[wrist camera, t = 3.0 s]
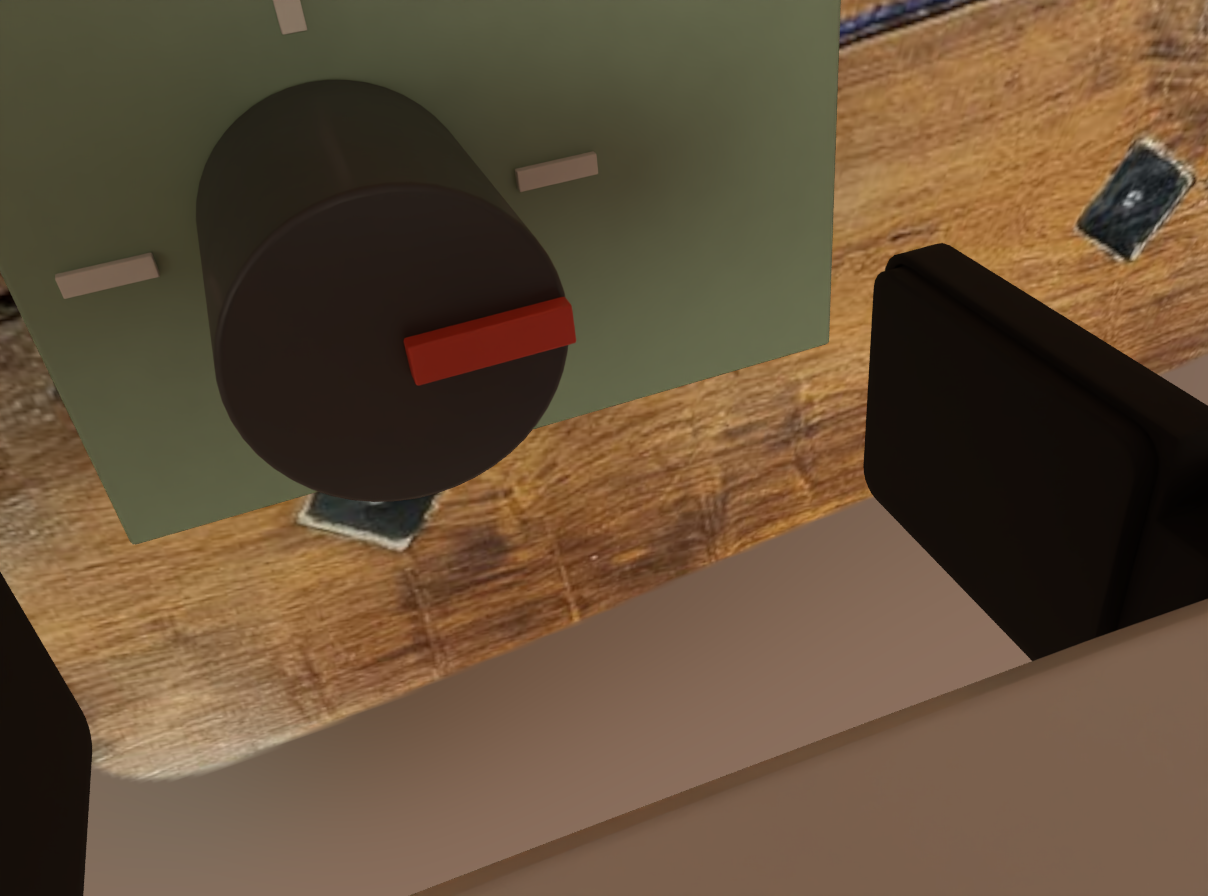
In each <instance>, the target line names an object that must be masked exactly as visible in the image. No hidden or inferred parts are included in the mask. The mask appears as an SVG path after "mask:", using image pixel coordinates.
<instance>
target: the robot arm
mask: <svg viewBox="0 0 1208 896" xmlns="http://www.w3.org/2000/svg"><path fill="white" fill-rule="evenodd" d="M864 475H865V480H866V482H867V485H868V488H869V489H870V491H871V493H872V495H873V496H874V497H875V498H876V500H877V501H878V502H879V503H880V504H881V505H882V506H883V507H884V508H885V509H886V510H887V511H888V512H889V513H890V514H891V515H892V516H893V517H894V518H895V519H896V520H897V521H898V522H899V523H900V524H901V525H902V526H903V528H904V529H905V530H906V531H907V532H908V533H909V534H910V535H911V536H912V537H913V538H914V539H915V540H916V541H917V542H918V543H919V544H920V545H921V546H922V547H923V548H924V549H925V550H926V551H927V552H928V553H929V554H930V556H931V557H933V559H934V560H935V561H936V562H937V563H938V564H939V565H940V566H941V567H942V568H943V569H944V570H945V571H946V572H947V573H948V574H949V575H950V576H951V577H952V578H953V579H954V580H955V581H956V582H957V583H958V585H960V587H961V588H962V589H963V590H964V591H965V592H966V593H967V594H968V595H969V596H970V597H971V598H972V599H973V600H974V601H975V602H976V603H977V604H978V605H979V606H980V607H981V608H982V609H983V610H984V611H985V612H986V613H987V614H988V616H990V618H991V619H992V620H993V621H994V622H995V623H996V624H997V625H998V626H999V627H1000V628H1001V629H1002V630H1003V631H1004V632H1005V633H1006V634H1007V635H1008V636H1009V637H1010V638H1011V639H1012V640H1013V641H1014V642H1015V643H1016V645H1017V646H1019V648H1020V649H1021V650H1022V651H1023V652H1024V653H1025V654H1026V655H1027V656H1028V657H1029V658H1030V659H1031V660H1032V662H1029V663H1027V664H1024V665H1021V666H1018V667H1016V668H1013V669H1010V670H1008V671H1005V672H1002V673H999V674H997V675H994V676H992V677H989V678H986V679H983V680H981V681H978V682H975V683H973V684H970V685H967V686H964V687H962V688H959V689H956V690H954V691H951V692H948V693H945V694H943V695H940V696H937V697H935V698H932V699H929V700H927V701H924V702H921V703H919V704H916V705H913V706H910V707H908V708H905V709H902V710H899V711H897V712H894V713H891V714H889V715H886V716H883V717H881V718H878V719H875V720H873V721H870V722H867V723H864V724H862V725H859V726H857V727H854V728H851V729H848V730H846V731H843V732H840V733H838V734H835V735H832V736H830V737H827V738H824V739H822V740H819V741H816V742H814V743H811V744H808V745H806V746H803V747H801V748H798V749H795V750H793V751H790V752H787V753H784V754H782V755H779V756H776V757H774V758H771V759H769V760H766V761H763V762H760V763H758V764H755V765H752V766H750V767H747V768H744V769H742V770H739V771H737V772H734V773H731V774H728V775H726V776H723V777H720V778H718V779H715V780H712V781H710V782H707V783H705V784H702V785H699V786H697V787H694V788H691V789H689V790H686V791H683V792H681V793H678V794H676V795H673V796H670V797H667V798H665V799H662V800H659V801H657V802H654V803H652V804H649V805H646V806H643V807H641V808H638V809H636V810H633V811H630V812H628V813H625V814H622V815H620V816H617V817H615V818H612V819H609V820H606V821H604V822H601V823H598V824H596V825H593V826H591V827H588V828H585V829H583V830H580V831H577V832H575V833H572V834H569V835H567V836H564V837H562V838H559V839H556V840H553V841H551V842H548V843H546V844H543V845H540V846H538V847H535V848H532V849H530V850H527V851H525V852H522V853H520V854H517V855H514V856H512V857H509V858H507V859H504V860H501V861H498V862H496V863H493V864H491V865H488V866H485V867H483V868H480V869H478V870H475V871H472V872H470V873H467V874H464V875H462V876H459V877H457V878H454V879H451V880H449V881H446V882H444V883H441V884H439V885H436V886H433V887H430V888H428V889H425V890H423V891H420V892H418V893H415V894H412V895H410V896H1208V406H1207V405H1206V404H1204V403H1202V402H1200V401H1199V400H1197V399H1196V398H1194V397H1193V396H1191V395H1190V394H1188V393H1186V392H1185V391H1183V390H1181V389H1180V388H1178V387H1177V386H1175V385H1173V384H1172V383H1170V382H1169V381H1167V380H1165V379H1164V378H1162V377H1161V376H1159V375H1157V374H1156V373H1154V372H1153V371H1151V370H1149V369H1148V368H1146V367H1145V366H1143V365H1141V364H1140V363H1138V362H1136V361H1135V360H1133V359H1132V358H1130V357H1128V356H1127V355H1125V354H1124V353H1122V352H1120V351H1119V350H1117V349H1116V348H1114V347H1112V346H1111V345H1109V344H1107V343H1106V342H1104V341H1103V340H1101V339H1099V338H1098V337H1096V336H1095V335H1093V334H1091V333H1090V332H1088V331H1087V330H1085V329H1083V328H1082V327H1080V326H1078V325H1077V324H1075V323H1074V322H1072V321H1070V320H1069V319H1067V318H1066V317H1064V316H1062V315H1061V314H1059V313H1058V312H1056V311H1054V310H1053V309H1051V308H1049V307H1048V306H1046V305H1045V304H1043V303H1041V302H1040V301H1038V300H1037V299H1035V298H1033V297H1032V296H1030V295H1029V294H1027V293H1025V292H1024V291H1022V290H1020V289H1019V288H1017V287H1016V286H1014V285H1012V284H1011V283H1009V282H1008V281H1006V280H1004V279H1003V278H1001V277H1000V276H998V275H996V274H995V273H993V272H991V271H990V270H988V269H987V268H985V267H983V266H982V265H980V264H979V263H977V262H975V261H974V260H972V259H970V258H969V257H967V256H966V255H964V254H962V253H961V252H959V251H958V250H956V249H954V248H953V247H951V246H949V245H947V244H944V243H940V244H935V245H931V246H927V247H924V248H920V249H916V250H912V251H909V252H905V253H901V254H897V255H894V256H893V257H892V258H891V259H890V260H889V261H888V263H887V266H886V268H885V271H884V272H881V273H880V274H879V275H878V276H877V278H876V280H875V284H874V293H873V311H872V328H871V345H870V363H869V380H868V398H867V415H866V433H865V450H864ZM91 762H92V741H91V735H90V730H89V726H88V724H87V721H86V718H85V716H84V714H83V712H82V710H81V708H80V707H79V705H78V703H77V701H76V700H75V698H74V696H73V695H72V693H71V691H70V690H69V688H68V686H67V684H66V683H65V681H64V679H63V678H62V676H61V674H60V673H59V671H58V669H57V667H56V666H55V664H54V662H53V661H52V659H51V657H50V655H49V654H48V652H47V650H46V649H45V647H44V645H43V644H42V642H41V640H40V638H39V637H38V635H37V633H36V632H35V630H34V628H33V627H32V625H31V623H30V621H29V620H28V618H27V616H26V615H25V613H24V611H23V610H22V608H21V606H20V604H19V603H18V601H17V599H16V598H15V596H14V594H13V593H12V591H11V589H10V587H9V586H8V584H7V582H6V581H5V579H4V577H3V576H2V574H1V572H0V896H83V891H84V875H85V859H86V842H87V826H88V810H89V794H90V777H91Z"/></svg>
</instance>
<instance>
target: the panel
mask: <svg viewBox="0 0 1208 896" xmlns="http://www.w3.org/2000/svg"><path fill="white" fill-rule="evenodd" d="M840 4H841V0H0V272H1V274H2V276H3V279H4V281H5V283H6V285H7V287H8V289H9V291H10V293H11V295H12V297H13V299H14V301H15V303H16V306H17V308H18V310H19V312H20V314H21V316H22V318H23V320H24V322H25V324H26V326H27V328H28V330H29V333H30V335H31V337H32V339H33V341H34V343H35V345H36V347H37V349H38V351H39V353H40V355H41V357H42V360H43V362H44V364H45V366H46V368H47V370H48V372H49V374H50V376H51V378H52V380H53V382H54V384H55V387H56V389H57V391H58V393H59V395H60V397H61V399H62V401H63V403H64V405H65V407H66V409H67V411H68V413H69V416H70V418H71V420H72V422H73V424H74V426H75V428H76V430H77V432H78V434H79V436H80V438H81V440H82V443H83V445H84V447H85V449H86V451H87V453H88V455H89V457H90V459H91V461H92V463H93V465H94V467H95V470H96V472H97V474H98V476H99V478H100V480H101V482H102V484H103V486H104V488H105V490H106V492H107V494H108V497H109V499H110V501H111V503H112V505H113V507H114V509H115V511H116V513H117V515H118V517H119V519H120V521H121V524H122V526H123V528H124V530H125V532H126V534H127V536H128V538H129V540H130V542H131V543H132V544H139V543H143V542H146V541H150V540H153V539H156V538H160V537H163V536H167V535H170V534H174V533H177V532H181V531H184V530H187V529H191V528H194V527H198V526H201V525H205V524H208V523H212V522H215V521H218V520H222V519H225V518H229V517H232V516H236V515H239V514H243V513H246V512H249V511H253V510H256V509H260V508H263V507H267V506H270V505H274V504H277V503H281V502H284V501H287V500H291V499H294V498H298V497H301V496H305V495H308V494H312V493H315V492H318V491H315V490H312V489H310V488H308V487H306V486H303V485H301V484H299V483H297V482H295V481H293V480H291V479H290V478H288V477H286V476H285V475H283V474H282V473H280V472H279V471H277V470H275V469H274V468H272V467H271V466H270V465H269V464H268V463H267V462H265V461H264V460H263V459H262V458H261V457H259V456H258V455H257V454H256V453H255V452H254V451H253V450H252V448H251V447H250V446H249V445H248V444H247V443H246V442H245V441H244V440H243V438H242V437H241V435H240V434H239V432H238V431H237V429H236V428H235V426H234V425H233V423H232V422H231V420H230V418H229V416H228V413H227V411H226V409H225V407H224V405H223V403H222V400H221V396H220V393H219V389H218V386H217V382H216V376H215V368H214V360H213V352H212V344H211V336H210V328H209V320H208V312H207V305H206V297H205V289H204V281H203V273H202V265H201V257H200V249H199V241H198V233H197V225H196V199H197V194H198V188H199V182H200V179H201V176H202V173H203V170H204V167H205V164H206V162H207V160H208V158H209V156H210V154H211V152H212V150H213V148H214V147H215V145H216V144H217V142H218V141H219V139H220V138H221V137H222V135H223V134H224V132H225V131H226V130H227V129H228V128H229V127H230V126H231V125H232V124H233V123H234V122H235V120H236V119H237V118H238V117H240V116H241V115H242V114H243V113H245V112H246V111H247V110H248V109H250V108H251V107H252V106H253V105H255V104H257V103H258V102H260V101H262V100H263V99H265V98H267V97H268V96H270V95H272V94H275V93H277V92H280V91H282V90H284V89H287V88H289V87H293V86H297V85H300V84H304V83H308V82H315V81H323V80H352V81H360V82H367V83H371V84H374V85H378V86H382V87H385V88H388V89H390V90H393V91H395V92H398V93H400V94H402V95H404V96H406V97H408V98H410V99H411V100H413V101H415V102H416V103H418V104H420V105H421V106H423V107H424V108H425V109H426V110H428V111H429V112H430V113H432V114H433V115H434V116H435V117H436V118H437V119H438V120H439V121H440V122H441V123H442V124H443V125H444V126H445V127H446V128H447V129H448V130H449V131H450V133H451V134H452V135H453V136H454V138H455V139H456V140H457V141H458V142H459V144H460V145H461V146H462V147H463V149H464V150H465V151H466V152H467V154H468V155H469V156H470V157H471V158H472V160H473V161H474V162H475V163H476V165H477V166H478V167H479V168H480V170H481V171H482V172H483V173H484V175H485V176H486V177H487V178H488V179H489V181H490V182H491V183H492V184H493V186H494V187H495V188H496V189H497V191H498V192H499V193H500V194H501V196H502V197H503V198H504V199H505V200H506V202H507V203H508V204H509V205H510V207H511V208H512V209H513V210H514V212H515V213H516V214H517V215H518V217H519V218H520V219H521V220H522V221H523V223H524V224H525V225H526V226H527V228H528V229H529V230H530V231H531V233H532V234H533V235H534V236H535V238H536V239H537V240H538V242H539V243H540V244H541V246H542V247H543V248H544V250H545V251H546V252H547V254H548V255H549V257H550V259H551V261H552V263H553V265H554V267H555V268H556V270H557V272H558V275H559V278H560V281H561V283H562V286H563V289H564V292H565V297H566V299H567V300H568V301H569V303H570V304H571V306H572V311H573V318H574V326H575V334H576V342H575V343H573V344H570V345H568V352H567V357H566V361H565V366H564V371H563V374H562V377H561V379H560V382H559V385H558V388H557V390H556V392H555V394H554V396H553V398H552V400H551V402H550V404H549V406H548V408H547V410H546V411H545V413H544V414H543V416H542V417H541V419H540V420H539V422H538V423H537V425H536V426H535V427H534V428H533V429H536V428H539V427H542V426H546V425H549V424H553V423H556V422H560V421H563V420H567V419H570V418H573V417H577V416H580V415H584V414H587V413H591V412H594V411H598V410H601V409H604V408H608V407H611V406H615V405H618V404H622V403H625V402H629V401H632V400H635V399H639V398H642V397H646V396H649V395H653V394H656V393H660V392H663V391H666V390H670V389H673V388H677V387H680V386H684V385H687V384H691V383H694V382H697V381H701V380H704V379H708V378H711V377H715V376H718V375H722V374H725V373H729V372H732V371H735V370H739V369H742V368H746V367H749V366H753V365H756V364H760V363H763V362H766V361H770V360H773V359H777V358H780V357H784V356H787V355H791V354H794V353H797V352H801V351H804V350H808V349H811V348H815V347H818V346H822V345H825V344H827V343H828V342H829V324H830V295H831V266H832V237H833V208H834V179H835V150H836V121H837V92H838V62H839V33H840Z"/></svg>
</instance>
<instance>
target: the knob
mask: <svg viewBox="0 0 1208 896" xmlns="http://www.w3.org/2000/svg"><path fill="white" fill-rule="evenodd" d="M196 225H197V233H198V241H199V249H200V257H201V265H202V273H203V281H204V289H205V297H206V305H207V312H208V320H209V328H210V336H211V344H212V352H213V360H214V368H215V376H216V382H217V386H218V389H219V393H220V396H221V400H222V403H223V405H224V407H225V409H226V411H227V413H228V416H229V418H230V420H231V422H232V423H233V425H234V426H235V428H236V429H237V431H238V432H239V434H240V435H241V437H242V438H243V440H244V441H245V442H246V443H247V444H248V445H249V446H250V447H251V448H252V450H253V451H254V452H255V453H256V454H257V455H258V456H259V457H261V458H262V459H263V460H264V461H265V462H267V463H268V464H269V465H270V466H271V467H272V468H274V469H275V470H277V471H279V472H280V473H282V474H283V475H285V476H286V477H288V478H290V479H291V480H293V481H295V482H297V483H299V484H301V485H303V486H306V487H308V488H310V489H312V490H315V491H318V492H321V493H325V494H328V495H331V496H335V497H340V498H345V499H350V500H359V501H371V502H382V501H400V500H407V499H415V498H419V497H423V496H428V495H432V494H436V493H439V492H442V491H444V490H447V489H450V488H453V487H456V486H458V485H460V484H462V483H464V482H466V481H468V480H471V479H473V478H475V477H476V476H478V475H480V474H481V473H483V472H485V471H486V470H488V469H489V468H491V467H493V466H494V465H495V464H497V463H498V462H499V461H501V460H502V459H503V458H505V457H506V456H507V455H508V454H510V453H511V452H512V451H513V450H514V449H515V448H516V447H517V446H518V445H519V444H520V443H521V442H522V441H523V440H524V439H525V438H526V437H527V436H528V434H529V433H530V432H531V431H532V430H533V428H534V427H535V426H536V425H537V423H538V422H539V420H540V419H541V417H542V416H543V414H544V413H545V411H546V410H547V408H548V406H549V404H550V402H551V400H552V398H553V396H554V394H555V392H556V390H557V388H558V385H559V382H560V379H561V377H562V374H563V371H564V366H565V361H566V357H567V352H568V345H570V344H573V343H575V342H576V334H575V326H574V318H573V311H572V306H571V304H570V303H569V301H568V300H567V299H566V297H565V292H564V289H563V286H562V283H561V281H560V278H559V275H558V272H557V270H556V268H555V267H554V265H553V263H552V261H551V259H550V257H549V255H548V254H547V252H546V251H545V250H544V248H543V247H542V246H541V244H540V243H539V242H538V240H537V239H536V238H535V236H534V235H533V234H532V233H531V231H530V230H529V229H528V228H527V226H526V225H525V224H524V223H523V221H522V220H521V219H520V218H519V217H518V215H517V214H516V213H515V212H514V210H513V209H512V208H511V207H510V205H509V204H508V203H507V202H506V200H505V199H504V198H503V197H502V196H501V194H500V193H499V192H498V191H497V189H496V188H495V187H494V186H493V184H492V183H491V182H490V181H489V179H488V178H487V177H486V176H485V175H484V173H483V172H482V171H481V170H480V168H479V167H478V166H477V165H476V163H475V162H474V161H473V160H472V158H471V157H470V156H469V155H468V154H467V152H466V151H465V150H464V149H463V147H462V146H461V145H460V144H459V142H458V141H457V140H456V139H455V138H454V136H453V135H452V134H451V133H450V131H449V130H448V129H447V128H446V127H445V126H444V125H443V124H442V123H441V122H440V121H439V120H438V119H437V118H436V117H435V116H434V115H433V114H432V113H430V112H429V111H428V110H426V109H425V108H424V107H423V106H421V105H420V104H418V103H416V102H415V101H413V100H411V99H410V98H408V97H406V96H404V95H402V94H400V93H398V92H395V91H393V90H390V89H388V88H385V87H382V86H378V85H374V84H371V83H367V82H360V81H352V80H323V81H315V82H308V83H304V84H300V85H297V86H293V87H289V88H287V89H284V90H282V91H280V92H277V93H275V94H272V95H270V96H268V97H267V98H265V99H263V100H262V101H260V102H258V103H257V104H255V105H253V106H252V107H251V108H250V109H248V110H247V111H246V112H245V113H243V114H242V115H241V116H240V117H238V118H237V119H236V120H235V122H234V123H233V124H232V125H231V126H230V127H229V128H228V129H227V130H226V131H225V132H224V134H223V135H222V137H221V138H220V139H219V141H218V142H217V144H216V145H215V147H214V148H213V150H212V152H211V154H210V156H209V158H208V160H207V162H206V164H205V167H204V170H203V173H202V176H201V179H200V182H199V188H198V194H197V199H196Z"/></svg>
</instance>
